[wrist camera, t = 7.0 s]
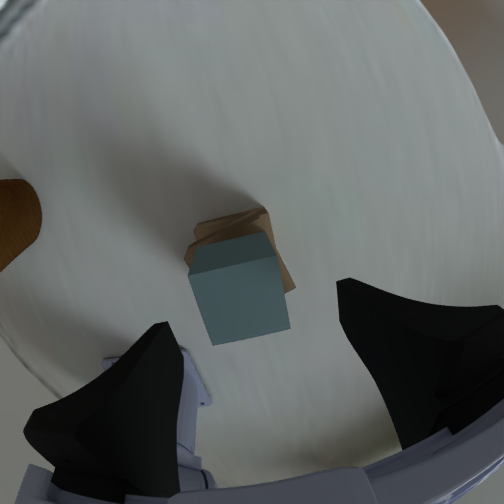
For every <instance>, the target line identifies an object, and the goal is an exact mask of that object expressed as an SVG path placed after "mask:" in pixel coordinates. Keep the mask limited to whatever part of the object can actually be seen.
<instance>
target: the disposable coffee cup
mask: <svg viewBox="0 0 504 504" xmlns="http://www.w3.org/2000/svg"><path fill="white" fill-rule="evenodd" d="M41 222H42V212H41V206H40V202H39V199H38V196H37V194H36V192H35V191H34V189H33V187H32V186H31V185H30V184H29V183H27V182H26V181H24V180H21V179H5V180H0V272H1V271H2V270H3V269H5V268H6V267H7V265H9V264H10V263H11V261H13V260H14V259H15V258H16V257H17V256H18V255H20V254H21V253H22V251H24V250H25V249H26V248H27V247H29V246H30V245H31V244H32V243H33V242H34V241H35V240H36V239H37V237H38V235H39V232H40V228H41Z"/></svg>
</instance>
